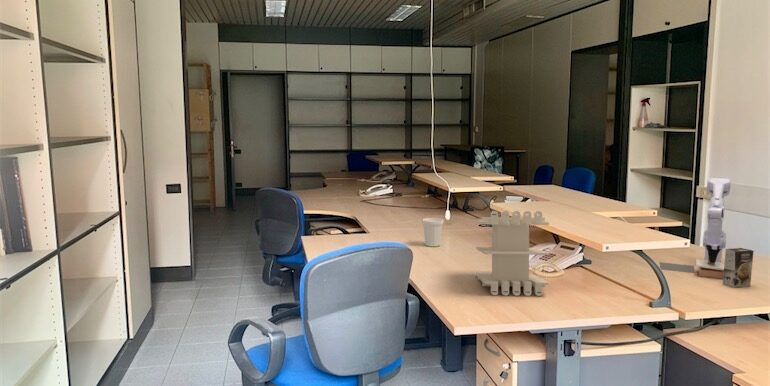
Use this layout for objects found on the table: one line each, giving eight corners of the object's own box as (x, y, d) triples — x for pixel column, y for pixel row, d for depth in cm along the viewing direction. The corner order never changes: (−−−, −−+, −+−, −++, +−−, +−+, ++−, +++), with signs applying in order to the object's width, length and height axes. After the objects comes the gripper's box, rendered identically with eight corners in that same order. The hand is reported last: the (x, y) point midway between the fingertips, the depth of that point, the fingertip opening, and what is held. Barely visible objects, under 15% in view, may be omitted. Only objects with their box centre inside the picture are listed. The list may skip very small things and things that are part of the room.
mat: (659, 263, 281) (659, 262, 281) (693, 266, 275) (693, 265, 275) (659, 270, 268) (659, 269, 268) (694, 273, 261) (695, 273, 261)
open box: (698, 272, 265) (698, 264, 264) (722, 274, 260) (723, 267, 260) (699, 277, 256) (699, 269, 255) (724, 279, 251) (725, 272, 251)
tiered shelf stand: (484, 295, 228) (484, 210, 229) (475, 285, 259) (475, 210, 260) (549, 296, 227) (549, 211, 228) (532, 286, 258) (532, 211, 259)
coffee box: (734, 288, 239) (737, 251, 237) (721, 284, 245) (724, 248, 243) (751, 286, 242) (754, 250, 240) (738, 282, 248) (741, 247, 246)
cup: (419, 247, 317) (420, 220, 315) (424, 242, 329) (424, 217, 327) (441, 248, 314) (441, 222, 312) (445, 243, 326) (445, 218, 324)
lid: (696, 260, 266) (697, 251, 265) (725, 264, 260) (726, 255, 259) (696, 266, 255) (697, 256, 254) (726, 270, 250) (728, 260, 249)
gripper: (703, 229, 264) (701, 257, 265) (705, 234, 251) (703, 264, 253) (720, 230, 261) (718, 258, 262) (723, 236, 248) (721, 265, 249)
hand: (712, 261), depth 257 cm, fingers closed on lid, 3 cm apart
